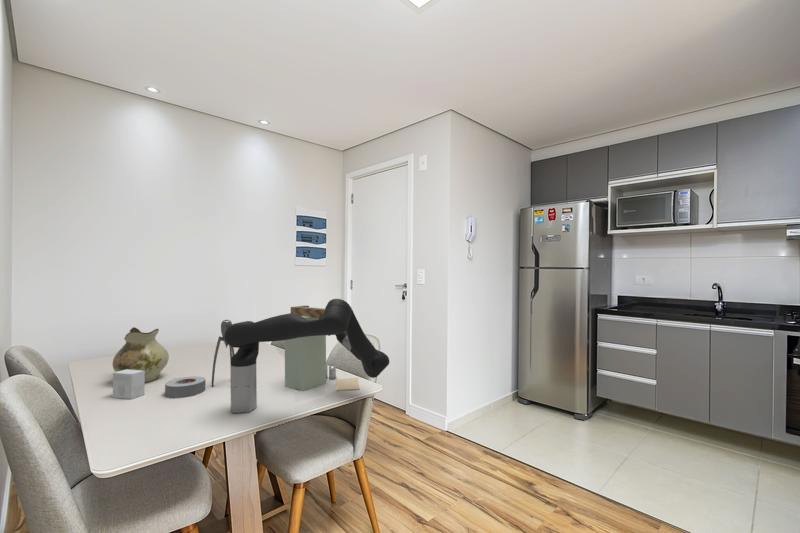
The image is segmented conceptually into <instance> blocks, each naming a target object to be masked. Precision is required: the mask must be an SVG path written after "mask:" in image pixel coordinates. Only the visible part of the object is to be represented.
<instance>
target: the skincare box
mask: <svg viewBox="0 0 800 533" xmlns="http://www.w3.org/2000/svg"><path fill="white" fill-rule="evenodd" d="M145 383H146V382H145V371H141V370H129V369H126V370H122V371H117V372H115V371H114V372H112V398H114V397H115V399H116V398H117V399H118V398H119V399H125V400H133V399H135V398H136V399H137V398H139V397H142V396H144V395H145V391H146V390H145V388H146V386H145Z"/></svg>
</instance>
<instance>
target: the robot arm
mask: <svg viewBox="0 0 800 533" xmlns="http://www.w3.org/2000/svg"><path fill="white" fill-rule="evenodd" d="M324 309H325V311H324V314H323V317H319V319H317V320H307V319H305V318H303V317H302V316H300V315H298V314H294V313H291V312H290V313H285V314H278V315H275V316H271V317H268V318H265V319H262V320H259V321H258V320H257V321H256V322H255V321H252V320H247V321H241V322H235V323H232V325H231V326H229V327H228V328H227V330H226V331H225V335H224V338H225V341H226V343H227V344H228V346H229V345H230V346H231V347H233V348H237V349H238V350H237V351H236V353H234V355H233V356H232V357H231V361H230V360H229V362H230V365H229V366H230V411H231V413H232V414H240V413H250V412H251V411H253V410H255V409H257V407H258V404H257V403H258V398H257V397H258V396H257V395H258V394H257V393H258V392H257V386H258V385H257V358H258V356H259V351H260V348H259V347H260V343H265V342H266V343H270V342H279V341H280V342H281V341H285V340H289V339H294V338H300V337H308V336H321V335H326V336H328V337H330V336H335V337H336V340H337V342H338V343H340V344H341V345H342V346H343V347H344V348H345V349H346V350H347V351H349V352H350V353H351V354H352V355H353V356H354V357H355V358H356V359H357V360H359V361H360V362H361V366H362V368H363V371H364V372H365V374H366V375H367V377H369V378H372V379H375V378H377V377H378V376H379V375H380V374H381V373H383V371H385V369H386V368H387V367H388V366H389V365H390V358H389V356H388V355H387V354H386V353H384V352H383V351H381V350H378V349H376V348H375V346H374V345H373V343H372V342H371V341H370V339H369V337H368V336H367V335H366V334H365V332H364V331H363V330H364V329H362V326H361V324H360V322H359V321H358V319H357V317H356V314H355V312H354V310H353V309H352V307H351V305H350V304H349V303H348V302H347V301H345V300H343V299H341V298H332V299H330V300H329V301H328V302H327V304H326V306H325V308H324Z"/></svg>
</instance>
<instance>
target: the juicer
mask: <svg viewBox="0 0 800 533" xmlns="http://www.w3.org/2000/svg"><path fill="white" fill-rule="evenodd" d="M232 324H233V323H232V321H231V320H230V319H224V320H222V321H221V323H220V332H221V336H219V337H218V339H217V344H216V346H215V351H214V356H213V364H212V372H211V387H212V388H213V387H214V383H215V382H214V381H215V374H216V373H215V372H216V363H217V359H218V358H217V357H218V353H219V349H220V345H221V342H223V343H224V344H225V348H228V346H229V358H230V360H229V362H230V361H231V357H232V356H233V355H234V354H235V349H234V348H235V347H231V346H230V345H228V344H227V343H226V341H225V338H224V335H225V331H226V330H227V328H228V327H229V326H231V325H232Z"/></svg>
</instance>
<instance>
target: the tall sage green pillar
mask: <svg viewBox="0 0 800 533" xmlns="http://www.w3.org/2000/svg"><path fill="white" fill-rule="evenodd" d="M302 317H303V318H305V319H307V320H317V319H319V318H318V317H309V316H302ZM326 365H327V335H321V336H308V337H300V338H294V339H289V340H284V387H285V388H286V387H287V388H290V389H294V390H297V391H300V392H304V391H307V390H310V389H313V388H315V387H319V386H322V385H324V384H327V379H326Z"/></svg>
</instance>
